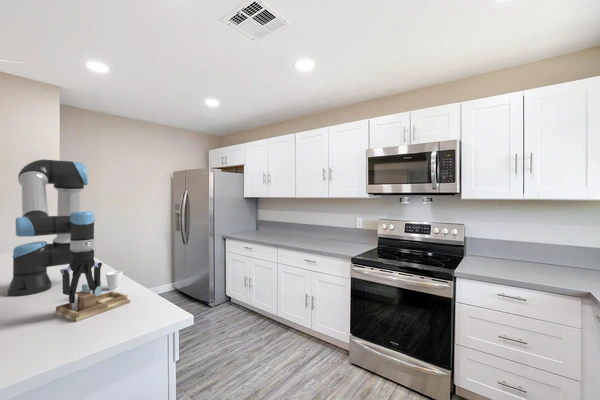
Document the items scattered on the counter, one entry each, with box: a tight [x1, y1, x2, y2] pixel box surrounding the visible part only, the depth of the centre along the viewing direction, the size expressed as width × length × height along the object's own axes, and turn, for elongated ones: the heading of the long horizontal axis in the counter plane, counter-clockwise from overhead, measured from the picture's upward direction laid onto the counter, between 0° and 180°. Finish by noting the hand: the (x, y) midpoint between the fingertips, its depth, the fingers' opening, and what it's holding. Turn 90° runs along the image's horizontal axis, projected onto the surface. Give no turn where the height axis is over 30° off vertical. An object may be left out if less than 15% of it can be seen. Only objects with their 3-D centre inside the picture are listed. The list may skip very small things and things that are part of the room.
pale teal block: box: [81, 281, 102, 296], centre depth 125 cm, size 4×6×6 cm, turn 155°
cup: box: [105, 270, 123, 291], centre depth 136 cm, size 7×10×8 cm
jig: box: [54, 290, 131, 323], centre depth 111 cm, size 15×20×3 cm
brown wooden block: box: [70, 290, 96, 312], centre depth 107 cm, size 10×4×6 cm, turn 66°
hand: (82, 307), depth 107 cm, fingers open, 4 cm apart
